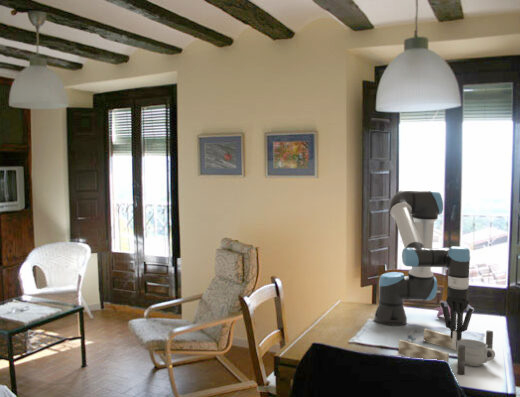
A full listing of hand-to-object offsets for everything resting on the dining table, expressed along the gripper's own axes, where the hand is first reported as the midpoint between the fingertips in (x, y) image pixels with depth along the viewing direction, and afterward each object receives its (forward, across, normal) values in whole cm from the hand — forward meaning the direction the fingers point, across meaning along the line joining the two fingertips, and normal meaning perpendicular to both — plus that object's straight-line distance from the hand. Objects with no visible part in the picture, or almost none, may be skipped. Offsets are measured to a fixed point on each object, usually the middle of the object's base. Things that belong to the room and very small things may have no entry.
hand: (455, 347), depth 188 cm
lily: (+5, -27, +49) cm, 56 cm away
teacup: (+5, +8, 0) cm, 9 cm away
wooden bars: (+5, -5, 0) cm, 7 cm away
